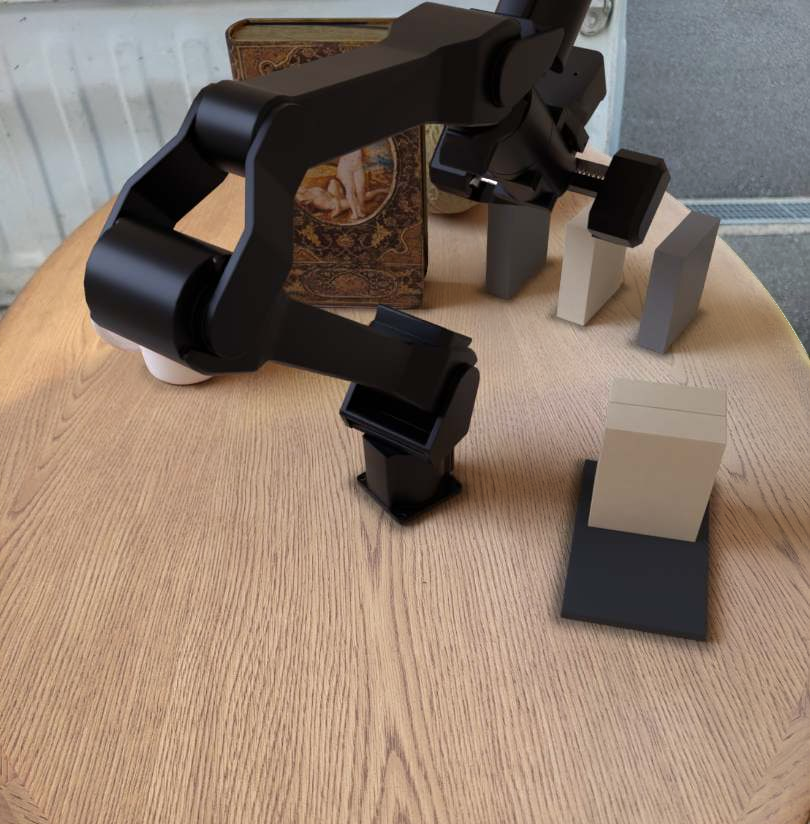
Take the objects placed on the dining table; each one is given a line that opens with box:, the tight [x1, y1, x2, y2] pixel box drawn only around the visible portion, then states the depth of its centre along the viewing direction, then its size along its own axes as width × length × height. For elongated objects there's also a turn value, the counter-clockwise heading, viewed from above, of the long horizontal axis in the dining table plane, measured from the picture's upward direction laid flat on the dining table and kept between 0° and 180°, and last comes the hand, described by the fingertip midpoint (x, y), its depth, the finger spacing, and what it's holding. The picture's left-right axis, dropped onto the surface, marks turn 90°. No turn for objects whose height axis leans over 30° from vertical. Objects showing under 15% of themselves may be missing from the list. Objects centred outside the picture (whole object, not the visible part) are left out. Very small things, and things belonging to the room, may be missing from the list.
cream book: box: [556, 198, 628, 327], centre depth 85 cm, size 8×3×10 cm, turn 145°
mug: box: [89, 316, 214, 386], centre depth 80 cm, size 12×8×10 cm
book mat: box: [560, 377, 728, 642], centre depth 63 cm, size 10×16×11 cm, turn 166°
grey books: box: [484, 204, 722, 355], centre depth 85 cm, size 8×20×10 cm, turn 55°
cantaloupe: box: [425, 124, 479, 214], centre depth 97 cm, size 15×15×15 cm
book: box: [224, 16, 429, 309], centre depth 82 cm, size 16×6×25 cm, turn 84°
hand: (571, 213), depth 76 cm, fingers open, 9 cm apart
